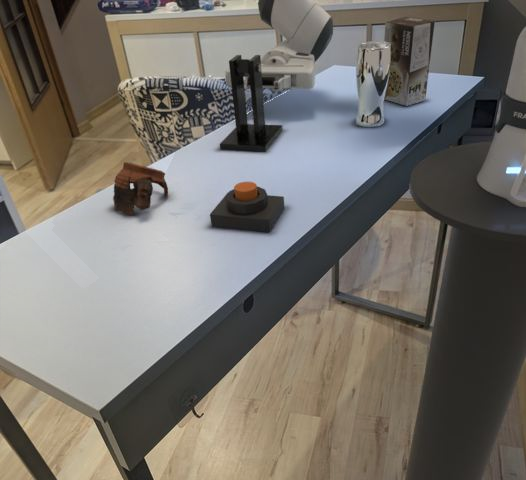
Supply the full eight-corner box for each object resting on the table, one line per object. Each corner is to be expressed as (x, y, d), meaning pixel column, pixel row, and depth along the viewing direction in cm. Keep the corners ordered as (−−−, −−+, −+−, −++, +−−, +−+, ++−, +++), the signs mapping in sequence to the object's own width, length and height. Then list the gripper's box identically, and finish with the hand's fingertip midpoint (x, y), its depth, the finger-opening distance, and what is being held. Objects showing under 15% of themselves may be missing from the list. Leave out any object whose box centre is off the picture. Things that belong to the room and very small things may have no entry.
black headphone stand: (240, 129, 117) (231, 50, 106) (282, 130, 114) (278, 49, 104) (220, 149, 109) (209, 66, 98) (265, 152, 106) (259, 66, 95)
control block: (284, 208, 87) (283, 185, 84) (269, 232, 81) (268, 208, 79) (229, 204, 90) (226, 181, 87) (211, 226, 84) (207, 203, 82)
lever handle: (249, 88, 113) (250, 76, 113) (275, 88, 112) (276, 76, 111) (228, 72, 102) (229, 59, 101) (257, 72, 100) (258, 59, 100)
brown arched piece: (106, 205, 94) (113, 158, 92) (156, 215, 99) (164, 171, 96) (117, 214, 84) (126, 162, 82) (173, 226, 89) (183, 176, 86)
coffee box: (426, 100, 122) (436, 20, 111) (406, 107, 119) (414, 25, 109) (399, 92, 128) (406, 15, 117) (379, 98, 125) (384, 20, 115)
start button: (260, 192, 84) (259, 182, 83) (253, 202, 81) (252, 192, 80) (239, 190, 85) (238, 180, 84) (232, 200, 82) (230, 190, 81)
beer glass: (378, 114, 117) (383, 39, 107) (391, 124, 112) (398, 45, 102) (349, 119, 116) (351, 43, 106) (361, 130, 111) (365, 51, 101)
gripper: (235, 54, 122) (213, 69, 112) (321, 54, 116) (306, 69, 106) (237, 83, 126) (217, 100, 116) (320, 85, 120) (306, 102, 110)
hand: (260, 85), depth 111 cm, fingers closed on lever handle, 6 cm apart
